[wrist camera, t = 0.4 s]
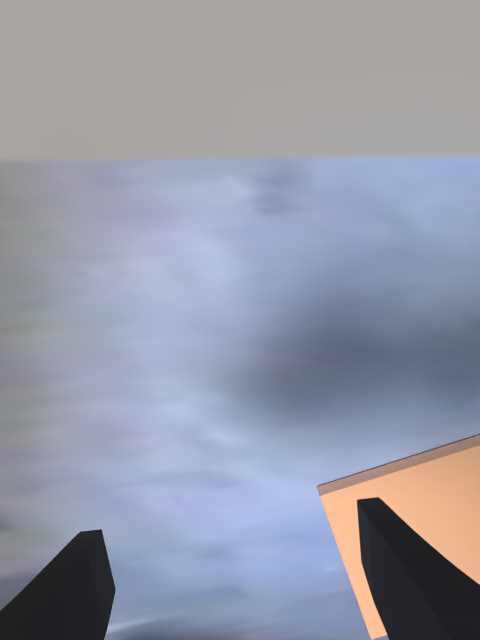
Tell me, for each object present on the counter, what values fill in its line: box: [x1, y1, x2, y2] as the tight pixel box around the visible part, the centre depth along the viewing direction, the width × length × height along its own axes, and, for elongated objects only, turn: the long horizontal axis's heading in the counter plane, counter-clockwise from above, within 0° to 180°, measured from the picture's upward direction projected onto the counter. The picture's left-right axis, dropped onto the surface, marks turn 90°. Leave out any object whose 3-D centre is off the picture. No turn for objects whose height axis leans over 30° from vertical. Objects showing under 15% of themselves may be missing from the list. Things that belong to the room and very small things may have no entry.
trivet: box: [317, 435, 480, 639], centre depth 23 cm, size 10×10×1 cm
